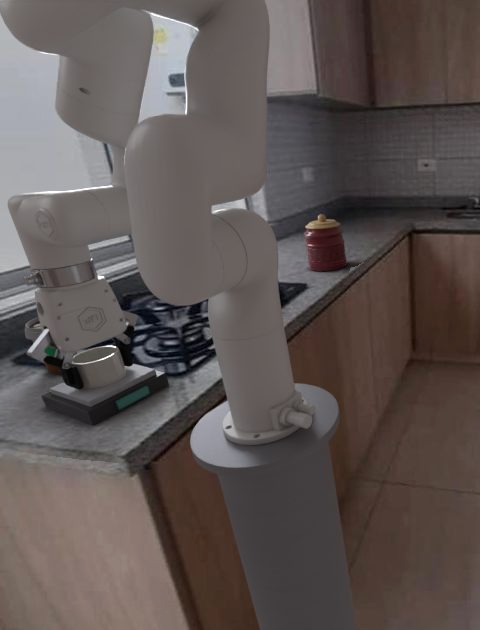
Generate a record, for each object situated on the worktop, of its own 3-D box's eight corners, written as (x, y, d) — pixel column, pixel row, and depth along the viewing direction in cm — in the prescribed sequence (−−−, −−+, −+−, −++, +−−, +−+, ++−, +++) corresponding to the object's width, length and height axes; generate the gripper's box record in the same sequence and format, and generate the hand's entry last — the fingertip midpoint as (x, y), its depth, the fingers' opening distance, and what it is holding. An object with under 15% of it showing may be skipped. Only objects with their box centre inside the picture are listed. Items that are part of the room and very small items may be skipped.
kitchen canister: (309, 263, 156) (302, 213, 149) (346, 260, 157) (341, 210, 151) (307, 273, 144) (299, 218, 137) (347, 269, 146) (341, 215, 139)
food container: (40, 363, 90) (21, 317, 86) (77, 353, 93) (60, 309, 90) (41, 385, 81) (20, 335, 77) (82, 373, 84) (64, 325, 81)
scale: (171, 385, 78) (166, 368, 77) (95, 426, 67) (87, 407, 66) (123, 372, 84) (118, 356, 83) (46, 408, 73) (38, 390, 72)
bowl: (135, 372, 76) (127, 349, 74) (94, 392, 70) (84, 367, 69) (111, 366, 79) (103, 343, 77) (69, 384, 73) (60, 360, 72)
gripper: (11, 294, 59) (57, 407, 66) (136, 262, 74) (164, 356, 80) (-16, 289, 62) (30, 397, 69) (109, 259, 77) (137, 350, 83)
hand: (102, 374), depth 74 cm, fingers open, 7 cm apart
